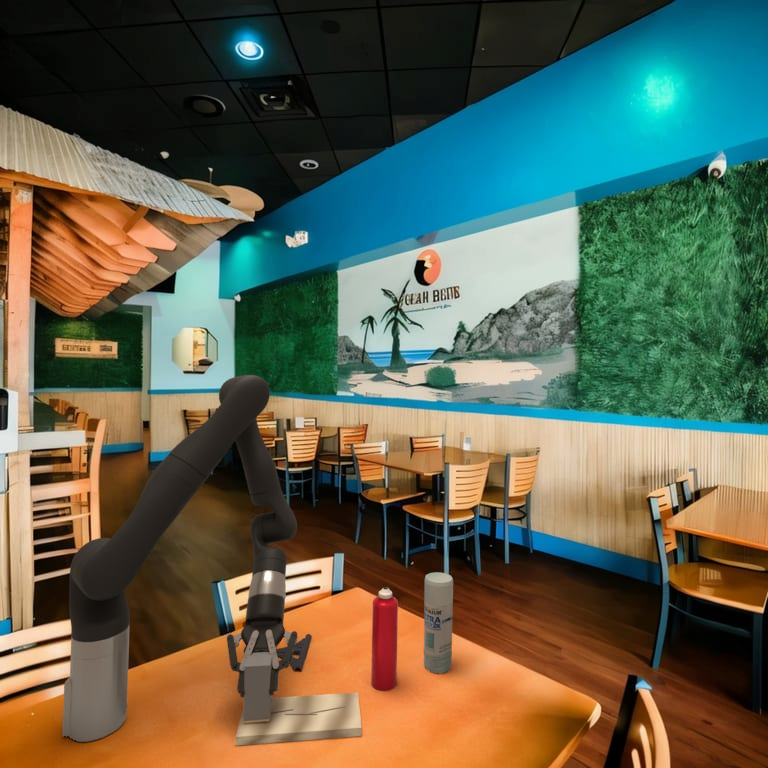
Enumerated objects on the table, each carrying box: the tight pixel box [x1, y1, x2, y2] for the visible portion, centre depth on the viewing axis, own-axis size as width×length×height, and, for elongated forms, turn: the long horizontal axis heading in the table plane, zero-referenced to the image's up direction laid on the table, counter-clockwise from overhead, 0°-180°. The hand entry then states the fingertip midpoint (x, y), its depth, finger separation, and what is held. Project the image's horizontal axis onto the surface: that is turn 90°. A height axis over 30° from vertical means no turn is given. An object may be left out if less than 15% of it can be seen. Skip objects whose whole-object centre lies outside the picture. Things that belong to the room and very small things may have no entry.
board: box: [235, 691, 363, 747], centre depth 87 cm, size 22×10×2 cm, turn 97°
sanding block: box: [243, 652, 273, 723], centre depth 87 cm, size 5×5×10 cm
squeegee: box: [243, 633, 313, 673], centre depth 110 cm, size 14×15×3 cm
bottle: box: [370, 586, 399, 692], centre depth 100 cm, size 5×5×20 cm
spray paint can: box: [423, 571, 454, 674], centre depth 106 cm, size 6×6×20 cm
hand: (257, 694), depth 85 cm, fingers closed on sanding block, 4 cm apart
